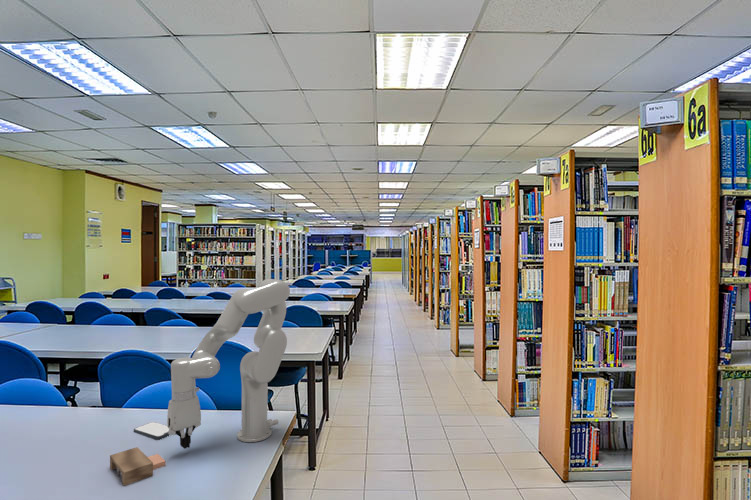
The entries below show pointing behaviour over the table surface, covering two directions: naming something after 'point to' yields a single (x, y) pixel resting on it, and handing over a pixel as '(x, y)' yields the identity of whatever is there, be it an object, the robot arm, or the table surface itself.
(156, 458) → the salmon pink flat block
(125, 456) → the wooden channel block
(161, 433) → the smartphone
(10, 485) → the table surface
